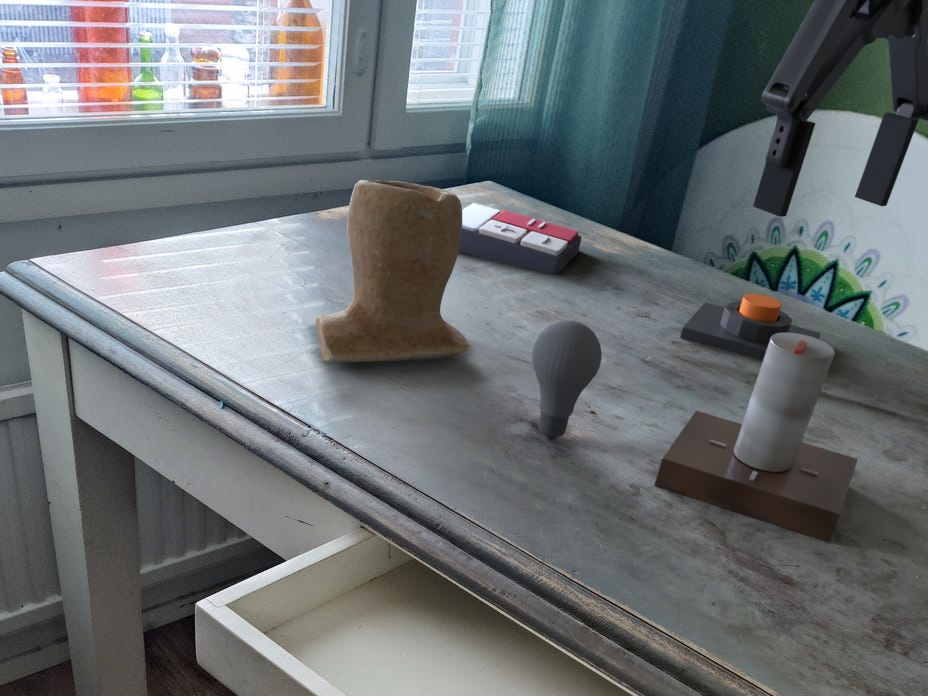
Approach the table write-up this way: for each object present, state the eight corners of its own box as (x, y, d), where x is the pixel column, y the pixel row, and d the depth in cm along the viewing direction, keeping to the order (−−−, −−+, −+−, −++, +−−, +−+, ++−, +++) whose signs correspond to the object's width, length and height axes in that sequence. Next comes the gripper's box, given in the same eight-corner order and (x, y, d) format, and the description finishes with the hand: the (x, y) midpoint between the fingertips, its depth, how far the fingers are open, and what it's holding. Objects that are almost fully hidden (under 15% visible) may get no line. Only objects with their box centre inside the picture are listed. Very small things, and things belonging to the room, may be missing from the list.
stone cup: (431, 322, 101) (448, 165, 92) (480, 370, 93) (504, 203, 84) (288, 328, 96) (291, 162, 86) (327, 380, 87) (335, 202, 78)
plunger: (779, 316, 105) (784, 300, 104) (772, 327, 102) (778, 310, 101) (742, 307, 106) (747, 290, 105) (734, 317, 103) (739, 300, 102)
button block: (814, 352, 108) (827, 316, 106) (799, 381, 101) (812, 344, 98) (699, 321, 112) (709, 285, 109) (677, 347, 104) (687, 310, 102)
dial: (740, 438, 82) (778, 323, 76) (797, 455, 81) (840, 340, 75) (727, 459, 79) (766, 341, 73) (786, 478, 77) (831, 359, 71)
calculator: (562, 251, 114) (441, 216, 116) (553, 288, 116) (436, 253, 119) (584, 229, 122) (471, 197, 125) (575, 264, 125) (465, 232, 127)
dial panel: (846, 484, 83) (858, 456, 82) (828, 542, 75) (841, 512, 74) (688, 435, 87) (696, 408, 86) (654, 485, 79) (662, 456, 78)
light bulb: (535, 416, 87) (557, 304, 80) (592, 437, 85) (619, 323, 79) (506, 437, 83) (526, 321, 77) (565, 460, 81) (591, 342, 75)
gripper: (873, -141, 58) (760, 231, 71) (1071, -98, 71) (945, 210, 84) (774, -151, 63) (684, 201, 76) (977, -109, 76) (871, 185, 89)
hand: (821, 206), depth 80 cm, fingers open, 13 cm apart
